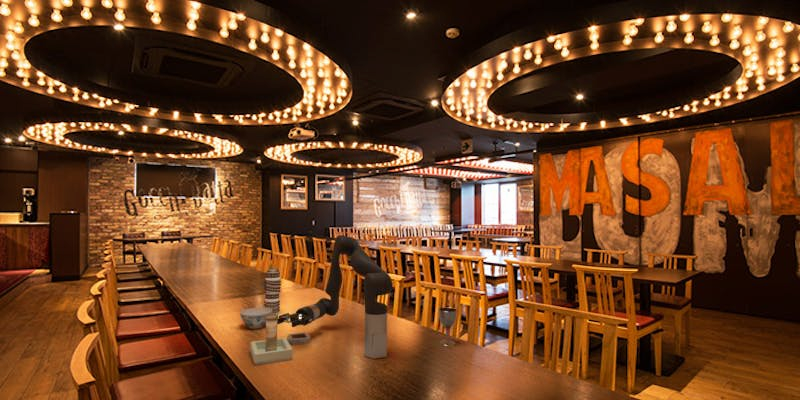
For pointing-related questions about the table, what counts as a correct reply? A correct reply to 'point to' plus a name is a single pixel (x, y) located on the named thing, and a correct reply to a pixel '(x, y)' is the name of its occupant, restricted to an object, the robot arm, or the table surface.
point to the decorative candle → (272, 290)
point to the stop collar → (298, 338)
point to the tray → (271, 352)
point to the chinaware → (255, 317)
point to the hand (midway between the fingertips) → (284, 323)
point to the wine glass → (447, 322)
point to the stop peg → (271, 332)
